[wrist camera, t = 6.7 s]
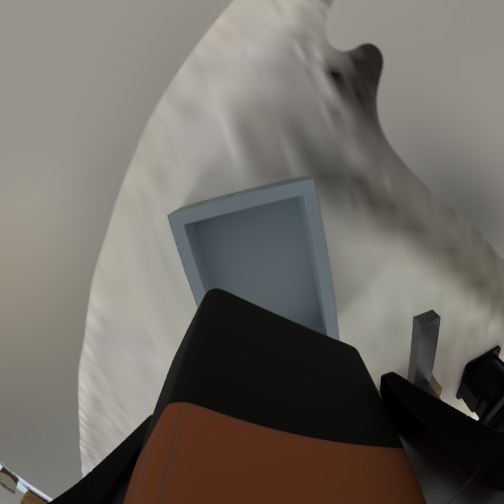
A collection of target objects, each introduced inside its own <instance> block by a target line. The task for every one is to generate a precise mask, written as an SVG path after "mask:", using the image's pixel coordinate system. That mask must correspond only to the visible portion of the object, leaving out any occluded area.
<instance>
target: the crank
mask: <svg viewBox="0 0 504 504" xmlns="http://www.w3.org/2000/svg"><path fill="white" fill-rule="evenodd" d="M439 326H440V316H439V315H438V314H437V313H435V312H434V311H433V310H430V311H428V312H425V313H423V314H420V315H417V316H415V317H413V330H412V343H411V354H410V363H409V371H408V378H407V380H408V381H410V382H411V383H413V384H415V385H416V386H418V387H420V388H421V389H423V390H425V391H426V392H428V393H430V394H431V395H433V396H435V397H436V398H438V399H440V397H439V396H438V394H437V393H436V391H435V390H434V388H433V387H432V385H431V384H430V379H431V375H432V370H433V365H434V359H435V353H436V347H437V341H438V334H439ZM440 400H441V399H440Z"/></svg>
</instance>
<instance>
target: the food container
mask: <svg viewBox="0 0 504 504" xmlns="http://www.w3.org/2000/svg"><path fill="white" fill-rule="evenodd" d="M18 481H19V479H18V478H16V477H15V476H14V475H13V474H11V473H10V472H9V471H7V470H6V469H5V468H4V467H2V469H1V470H0V485H1V486H3V487H4V488H5V489H7V490H8V491H9V492H10V493H12V494H15V493H16V492H15V489H16V486H17V483H18Z"/></svg>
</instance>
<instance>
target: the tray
mask: <svg viewBox="0 0 504 504" xmlns="http://www.w3.org/2000/svg"><path fill="white" fill-rule="evenodd" d="M167 216H168V220H169V223H170V226H171V230H172V233H173V236H174V239H175V242H176V246H177V249H178V252H179V255H180V258H181V261H182V264H183V267H184V270H185V273H186V276H187V279H188V282H189V285H190V287H191V290H192V293H193V296H194V299H195V301H196V304H197V307H199V305H200V303H201V301H202V299H203V298H204V296H205V294H206V293H207V292H208V291H209V290H211V289H214V288H219V289H222V290H225V291H227V292H229V293H232V294H234V295H236V296H238V297H240V298H242V299H244V300H247V301H249V302H251V303H253V304H255V305H258V306H260V307H262V308H264V309H266V310H269V311H271V312H273V313H275V314H278V315H280V316H282V317H284V318H287V319H289V320H291V321H294V322H296V323H298V324H300V325H303V326H305V327H307V328H310V329H312V330H315V331H317V332H319V333H322V334H324V335H326V336H329V337H331V338H334V339H336V340H339V331H338V322H337V313H336V305H335V298H334V290H333V283H332V276H331V270H330V263H329V257H328V251H327V245H326V239H325V234H324V228H323V223H322V218H321V212H320V207H319V202H318V197H317V193H316V188H315V183H314V179H313V178H308V177H301V178H296V179H292V180H287V181H283V182H278V183H274V184H270V185H265V186H261V187H257V188H253V189H249V190H245V191H241V192H237V193H233V194H229V195H225V196H221V197H217V198H214V199H210V200H206V201H203V202H199V203H195V204H192V205H188V206H185V207H181V208H179V209H177V210H176V211H174V212H172V213H170V214H169V215H167ZM339 341H340V340H339Z"/></svg>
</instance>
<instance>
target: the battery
mask: <svg viewBox="0 0 504 504" xmlns="http://www.w3.org/2000/svg"><path fill="white" fill-rule="evenodd" d="M123 504H427V503H426V501H425V498H424V495H423V493H422V490H421V488H420V485H419V483H418V480H417V478H416V475H415V473H414V470H413V468H412V466H411V463H410V461H409V458H408V456H407V454H406V451H405V449H404V447H403V445H402V442H401V440H400V438H399V436H398V433H397V431H396V429H395V427H394V424H393V422H392V420H391V418H390V416H389V414H388V411H387V409H386V407H385V405H384V403H383V401H382V399H381V397H380V395H379V392H378V390H377V388H376V386H375V384H374V382H373V380H372V378H371V376H370V374H369V372H368V370H367V368H366V366H365V364H364V362H363V360H362V358H361V356H360V354H359V352H358V351H357V349H356V348H354V347H353V346H351V345H348V344H346V343H343V342H341V341H339V340H336V339H334V338H331V337H329V336H326V335H324V334H322V333H319V332H317V331H315V330H312V329H310V328H307V327H305V326H303V325H300V324H298V323H296V322H294V321H291V320H289V319H287V318H284V317H282V316H280V315H278V314H275V313H273V312H271V311H269V310H266V309H264V308H262V307H260V306H258V305H255V304H253V303H251V302H249V301H247V300H244V299H242V298H240V297H238V296H236V295H234V294H232V293H229V292H227V291H225V290H222V289H219V288H214V289H211V290H209V291H208V292H207V293H206V294H205V296H204V298H203V299H202V301H201V303H200V305H199V307H198V309H197V312H196V314H195V316H194V318H193V320H192V322H191V324H190V326H189V328H188V330H187V332H186V334H185V336H184V338H183V340H182V342H181V344H180V346H179V348H178V351H177V353H176V355H175V357H174V359H173V361H172V364H171V366H170V369H169V372H168V374H167V377H166V380H165V382H164V385H163V388H162V390H161V393H160V396H159V399H158V401H157V404H156V407H155V410H154V412H153V415H152V418H151V421H150V424H149V427H148V429H147V432H146V435H145V438H144V441H143V444H142V447H141V450H140V453H139V456H138V459H137V462H136V465H135V468H134V471H133V474H132V477H131V480H130V483H129V486H128V490H127V493H126V496H125V499H124V502H123Z"/></svg>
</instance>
